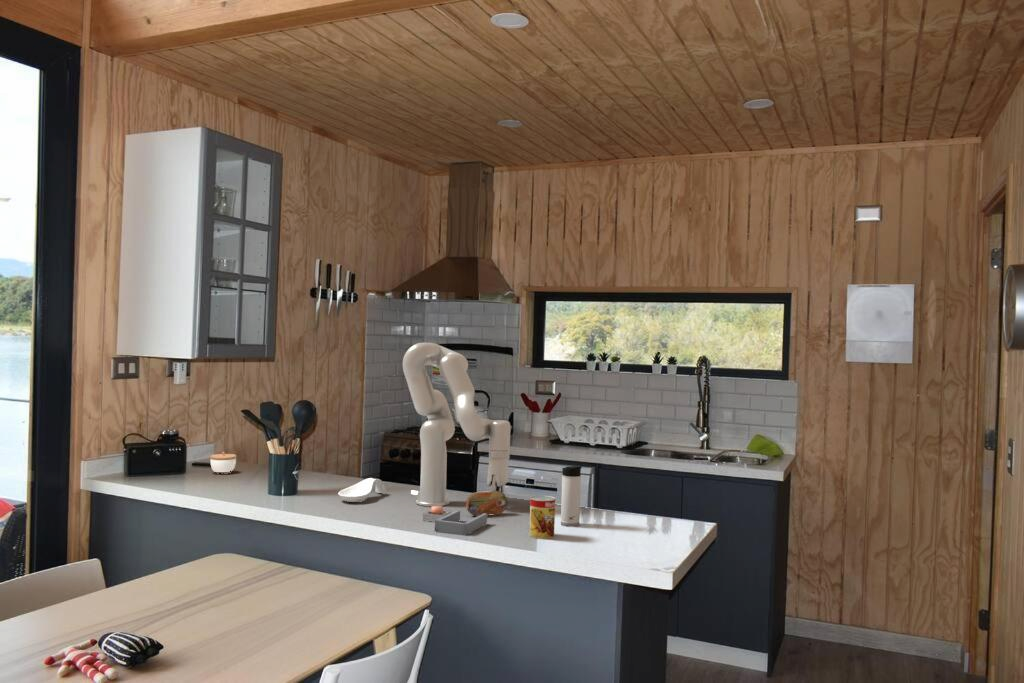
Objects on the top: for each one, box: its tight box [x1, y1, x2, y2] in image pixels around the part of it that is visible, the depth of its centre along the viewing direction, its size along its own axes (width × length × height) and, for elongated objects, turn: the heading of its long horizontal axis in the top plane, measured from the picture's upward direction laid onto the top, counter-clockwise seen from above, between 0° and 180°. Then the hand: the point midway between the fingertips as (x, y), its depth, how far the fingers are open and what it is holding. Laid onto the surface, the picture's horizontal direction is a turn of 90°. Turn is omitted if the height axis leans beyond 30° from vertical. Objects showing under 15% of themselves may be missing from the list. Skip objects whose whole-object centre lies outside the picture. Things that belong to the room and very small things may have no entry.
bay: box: [434, 510, 488, 536], centre depth 264 cm, size 11×17×4 cm, turn 160°
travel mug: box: [560, 465, 583, 527], centre depth 272 cm, size 6×7×20 cm
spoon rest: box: [337, 477, 387, 503], centre depth 306 cm, size 24×12×7 cm, turn 156°
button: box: [430, 506, 444, 515], centre depth 274 cm, size 4×4×2 cm
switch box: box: [422, 509, 452, 523], centre depth 274 cm, size 7×7×2 cm
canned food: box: [529, 495, 556, 540], centre depth 256 cm, size 8×8×12 cm
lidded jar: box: [209, 451, 237, 473], centre depth 352 cm, size 11×11×9 cm
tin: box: [465, 490, 508, 517], centre depth 284 cm, size 15×3×8 cm, turn 117°
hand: (497, 504), depth 295 cm, fingers closed
